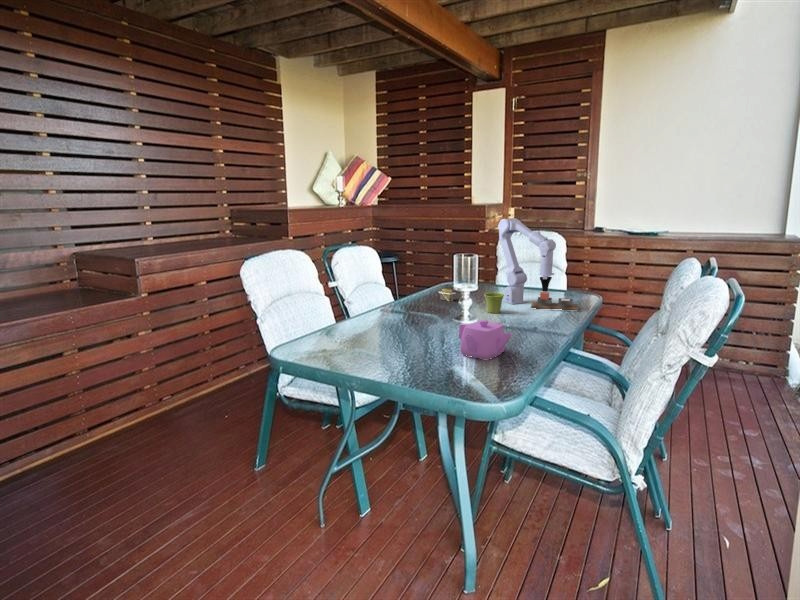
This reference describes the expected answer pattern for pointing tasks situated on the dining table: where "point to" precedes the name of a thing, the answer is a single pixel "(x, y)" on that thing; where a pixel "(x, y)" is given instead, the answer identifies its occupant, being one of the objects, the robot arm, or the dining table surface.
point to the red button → (544, 295)
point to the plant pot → (493, 302)
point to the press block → (554, 304)
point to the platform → (447, 294)
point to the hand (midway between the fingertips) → (545, 291)
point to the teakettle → (483, 339)
